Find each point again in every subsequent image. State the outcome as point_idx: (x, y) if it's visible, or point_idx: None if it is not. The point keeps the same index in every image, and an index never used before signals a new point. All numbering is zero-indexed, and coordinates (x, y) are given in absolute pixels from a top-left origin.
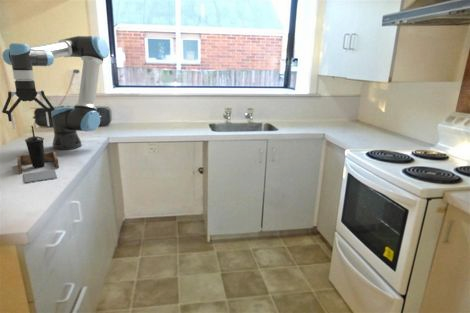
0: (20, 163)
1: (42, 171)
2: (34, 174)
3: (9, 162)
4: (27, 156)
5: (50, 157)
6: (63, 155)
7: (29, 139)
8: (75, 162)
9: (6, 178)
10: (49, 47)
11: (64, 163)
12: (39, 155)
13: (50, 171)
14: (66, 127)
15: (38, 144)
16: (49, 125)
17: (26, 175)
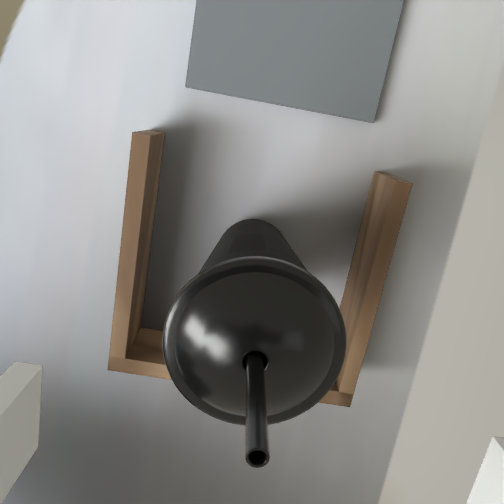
0: (368, 257)
1: (265, 91)
2: (326, 56)
3: (368, 447)
4: None
5: (154, 343)
6: (64, 408)
7: (311, 317)
8: (22, 195)
9: (474, 123)
10: None
11: (94, 220)
12: (244, 234)
13: (220, 52)
14: None
15: (238, 255)
16: (10, 368)
17: (373, 69)
